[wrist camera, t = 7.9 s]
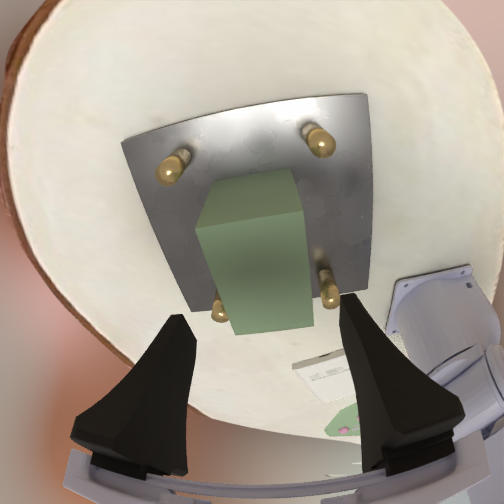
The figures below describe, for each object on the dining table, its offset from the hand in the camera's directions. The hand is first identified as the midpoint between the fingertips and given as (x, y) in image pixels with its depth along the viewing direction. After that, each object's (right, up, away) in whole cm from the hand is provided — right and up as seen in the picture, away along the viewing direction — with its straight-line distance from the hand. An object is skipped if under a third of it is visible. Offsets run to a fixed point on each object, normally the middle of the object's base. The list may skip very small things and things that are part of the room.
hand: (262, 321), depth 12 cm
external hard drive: (+11, -13, +21) cm, 27 cm away
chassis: (0, +5, +8) cm, 9 cm away
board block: (0, +5, +7) cm, 9 cm away
